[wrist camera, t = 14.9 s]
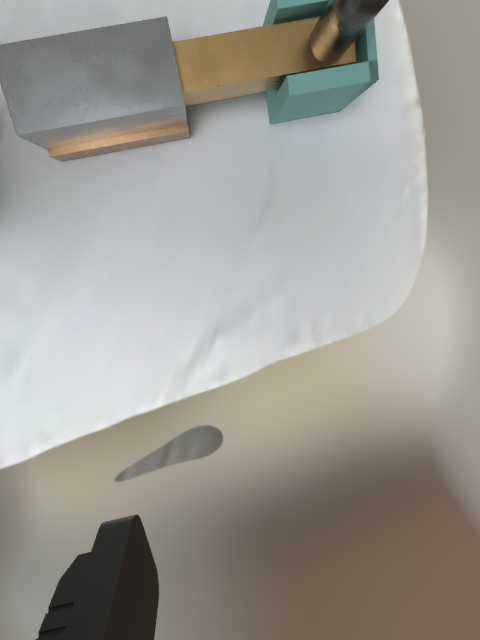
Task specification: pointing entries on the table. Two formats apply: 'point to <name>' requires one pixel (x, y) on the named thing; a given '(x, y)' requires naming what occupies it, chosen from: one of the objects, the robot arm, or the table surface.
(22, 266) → the table surface
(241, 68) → the board with post
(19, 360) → the table surface
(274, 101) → the socket
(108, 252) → the table surface
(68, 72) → the sleeve
